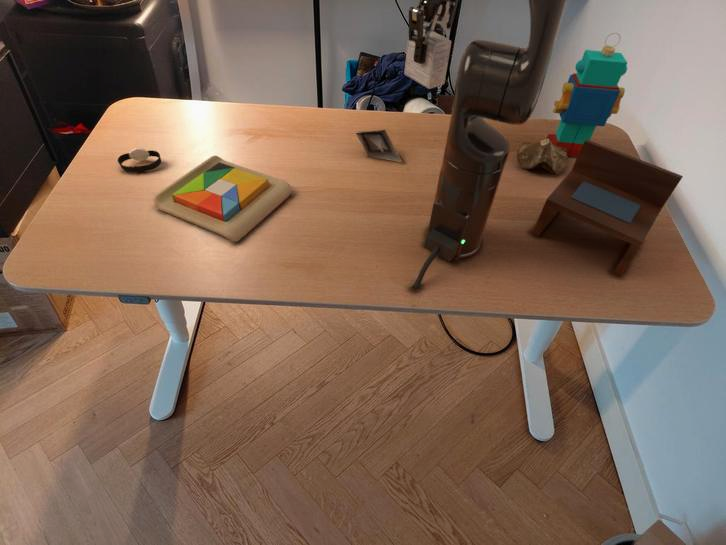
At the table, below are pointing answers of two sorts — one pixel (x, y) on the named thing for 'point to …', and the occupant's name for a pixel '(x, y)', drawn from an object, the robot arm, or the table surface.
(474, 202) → the robot arm
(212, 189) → the wooden puzzle
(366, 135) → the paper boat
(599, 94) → the toy robot
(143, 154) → the watch
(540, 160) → the fossilized seashell
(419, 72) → the medicine box
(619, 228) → the wooden toy chair
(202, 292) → the table surface
